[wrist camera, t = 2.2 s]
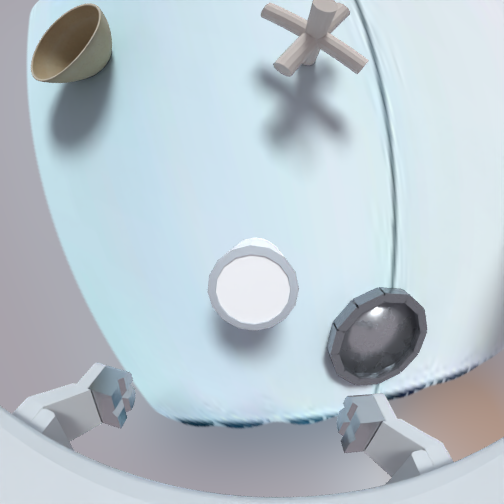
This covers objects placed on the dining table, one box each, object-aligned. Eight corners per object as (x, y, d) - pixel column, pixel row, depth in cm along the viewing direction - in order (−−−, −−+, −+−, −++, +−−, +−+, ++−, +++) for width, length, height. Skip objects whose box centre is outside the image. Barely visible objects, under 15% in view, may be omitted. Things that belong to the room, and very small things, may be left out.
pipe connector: (321, 118, 23) (352, 82, 14) (238, 65, 22) (225, 11, 13) (368, 59, 21) (407, 14, 12) (292, 11, 20) (301, -46, 11)
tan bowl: (122, 16, 21) (97, -10, 14) (136, 66, 23) (105, 40, 16) (62, 57, 22) (31, 40, 15) (69, 110, 24) (31, 99, 17)
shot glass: (233, 221, 26) (223, 232, 19) (300, 245, 26) (313, 264, 19) (212, 284, 28) (196, 314, 21) (275, 306, 28) (279, 341, 21)
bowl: (430, 290, 27) (438, 296, 25) (401, 373, 29) (406, 381, 28) (341, 284, 27) (346, 290, 25) (318, 376, 30) (320, 385, 28)
